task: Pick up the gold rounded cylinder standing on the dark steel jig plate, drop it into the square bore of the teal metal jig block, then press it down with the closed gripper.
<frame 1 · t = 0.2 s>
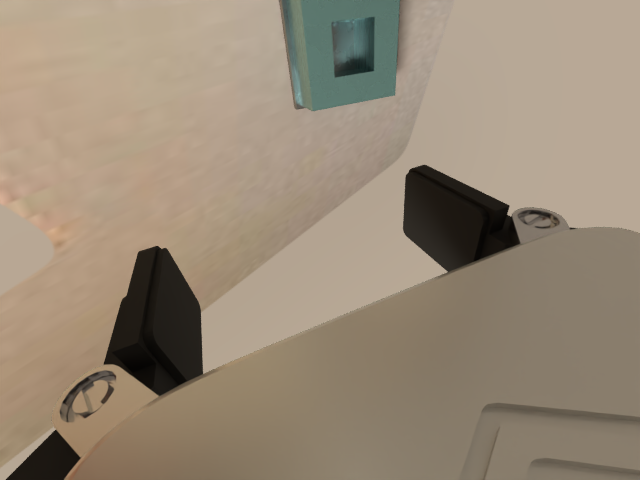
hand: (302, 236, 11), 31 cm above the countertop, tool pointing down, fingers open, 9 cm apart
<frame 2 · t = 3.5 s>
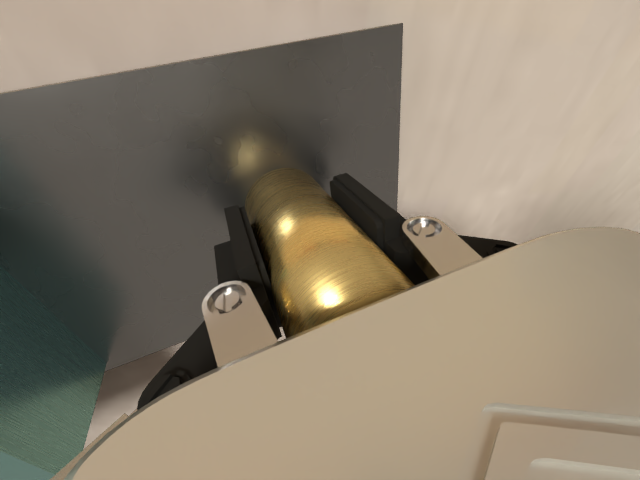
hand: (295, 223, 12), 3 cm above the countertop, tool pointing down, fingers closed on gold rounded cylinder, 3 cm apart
gold rounded cylinder: (284, 206, 13), point 1 cm above the countertop, touching gripper, jig
jig: (100, 250, 12), on the countertop
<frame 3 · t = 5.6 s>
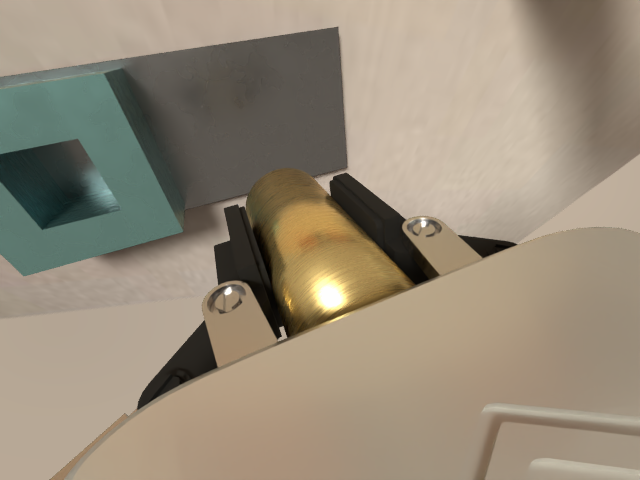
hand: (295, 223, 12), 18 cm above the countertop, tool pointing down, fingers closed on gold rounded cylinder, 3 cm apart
gold rounded cylinder: (285, 206, 13), point 16 cm above the countertop, touching gripper
jig: (189, 136, 24), on the countertop
when the fingers open (9 cm above the countertop, at t = 7.9 s): gold rounded cylinder drops 6 cm, resting on jig.
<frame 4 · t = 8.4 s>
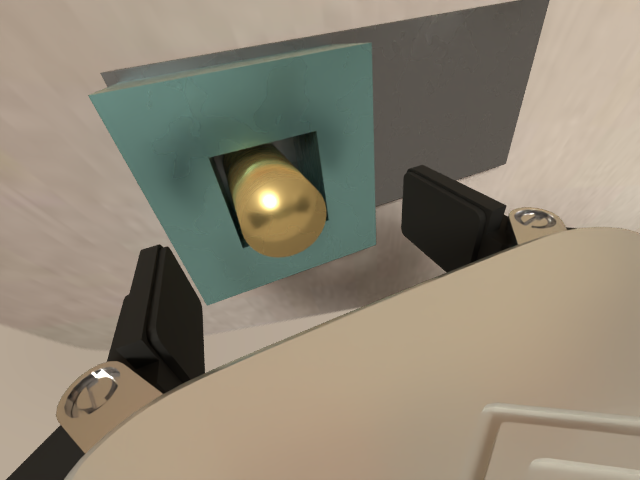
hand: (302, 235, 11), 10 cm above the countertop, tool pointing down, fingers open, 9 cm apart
gold rounded cylinder: (252, 164, 18), point 1 cm above the countertop, touching jig
jig: (363, 130, 20), on the countertop
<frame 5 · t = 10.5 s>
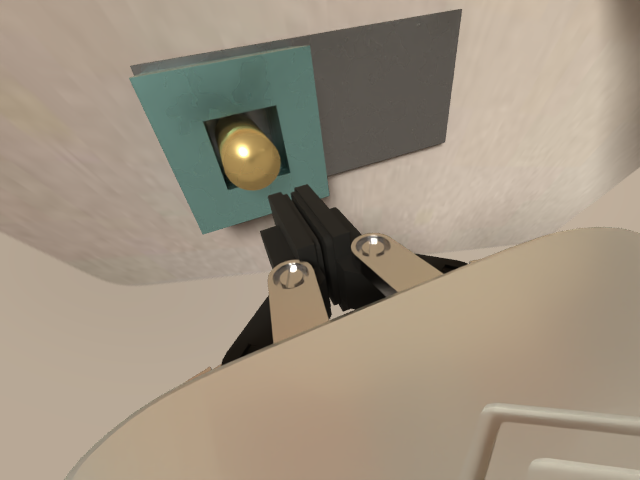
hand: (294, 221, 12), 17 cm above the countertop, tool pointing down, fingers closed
gold rounded cylinder: (237, 134, 24), point 1 cm above the countertop, touching jig
jig: (322, 111, 27), on the countertop
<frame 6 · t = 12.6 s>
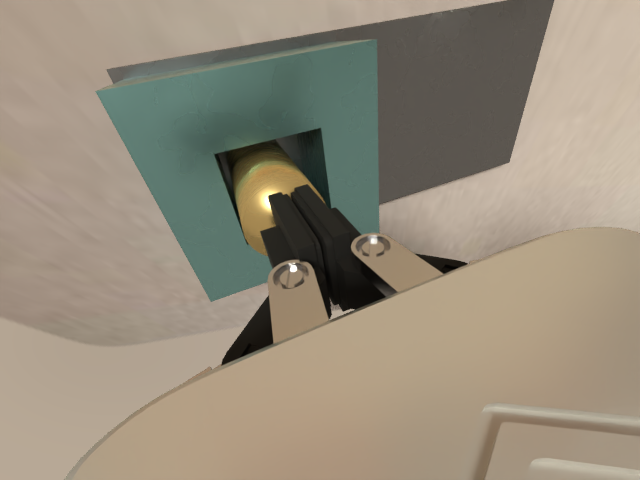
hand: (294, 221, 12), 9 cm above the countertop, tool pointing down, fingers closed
gold rounded cylinder: (256, 161, 18), point 1 cm above the countertop, touching gripper, jig
jig: (366, 128, 20), on the countertop
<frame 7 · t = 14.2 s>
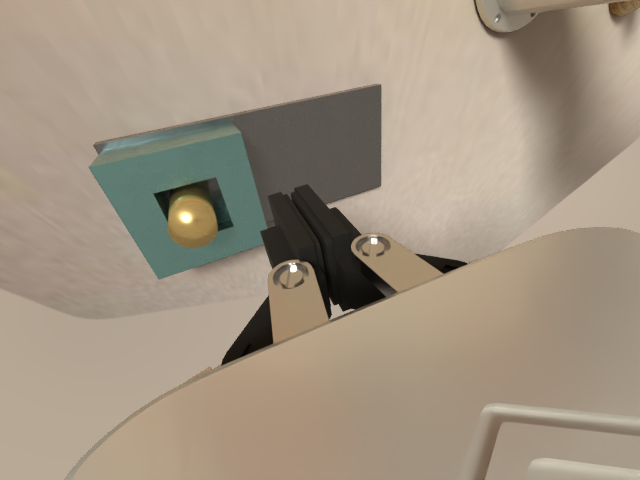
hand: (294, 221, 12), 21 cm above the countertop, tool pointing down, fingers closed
gold rounded cylinder: (190, 191, 28), point 1 cm above the countertop, touching jig
jig: (267, 167, 31), on the countertop
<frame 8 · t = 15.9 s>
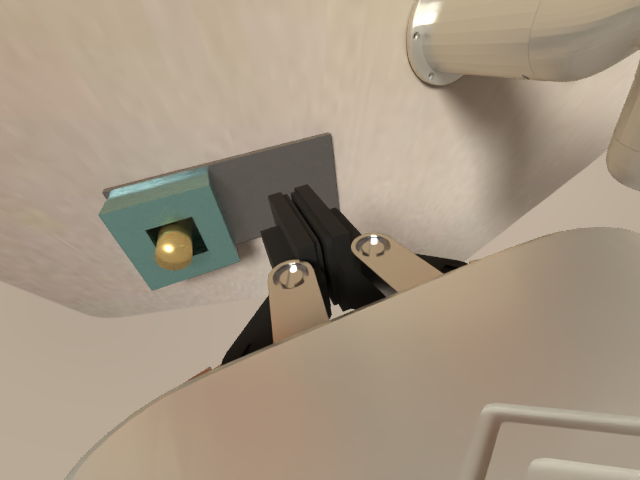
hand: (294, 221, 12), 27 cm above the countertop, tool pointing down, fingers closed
gold rounded cylinder: (177, 221, 36), point 1 cm above the countertop, touching jig
jig: (240, 200, 39), on the countertop
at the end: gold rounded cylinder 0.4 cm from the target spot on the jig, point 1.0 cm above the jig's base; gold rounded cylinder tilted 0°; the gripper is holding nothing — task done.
